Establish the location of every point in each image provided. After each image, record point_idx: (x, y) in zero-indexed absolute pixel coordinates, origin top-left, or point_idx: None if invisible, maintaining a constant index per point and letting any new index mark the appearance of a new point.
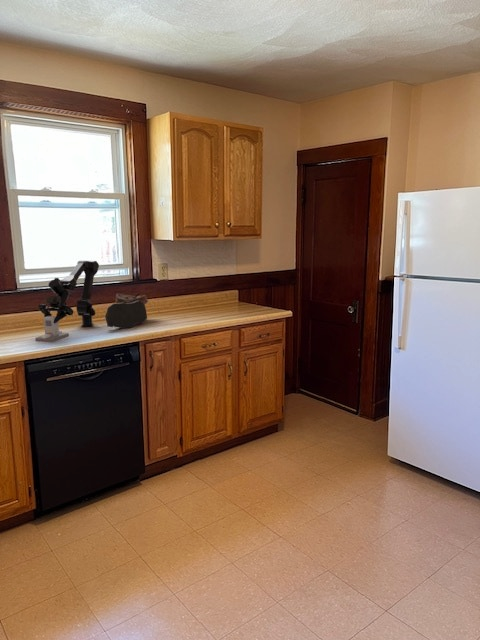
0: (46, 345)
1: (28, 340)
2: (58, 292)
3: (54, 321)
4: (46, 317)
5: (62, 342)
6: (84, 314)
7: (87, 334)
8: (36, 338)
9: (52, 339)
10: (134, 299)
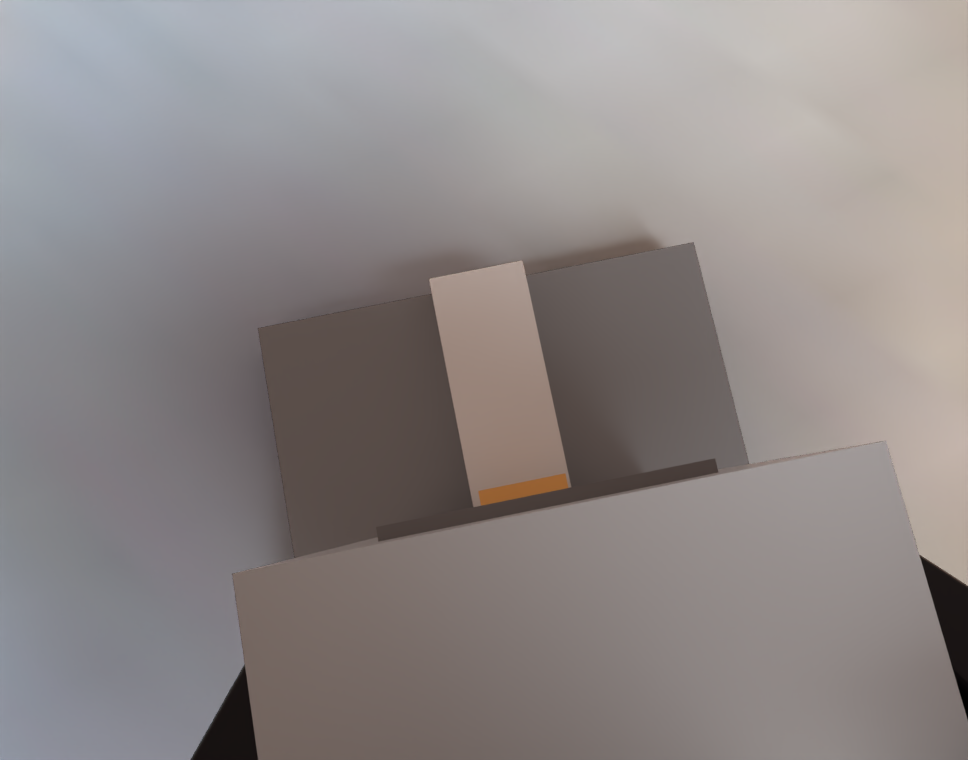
0: (155, 95)
1: (822, 205)
2: None
3: None
4: (698, 507)
5: (34, 403)
6: None
7: None
8: (661, 251)
9: (267, 353)
10: None
